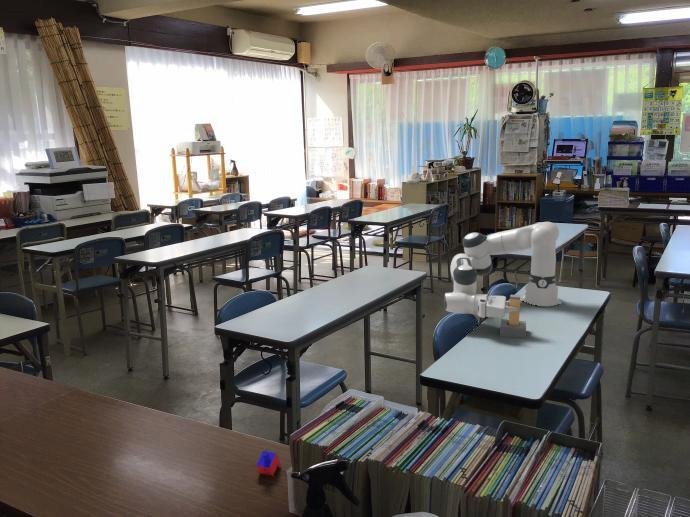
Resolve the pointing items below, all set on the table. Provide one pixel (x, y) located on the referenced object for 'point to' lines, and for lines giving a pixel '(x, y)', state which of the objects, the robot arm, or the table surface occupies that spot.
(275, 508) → the table surface
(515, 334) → the grey square block
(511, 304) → the plug
